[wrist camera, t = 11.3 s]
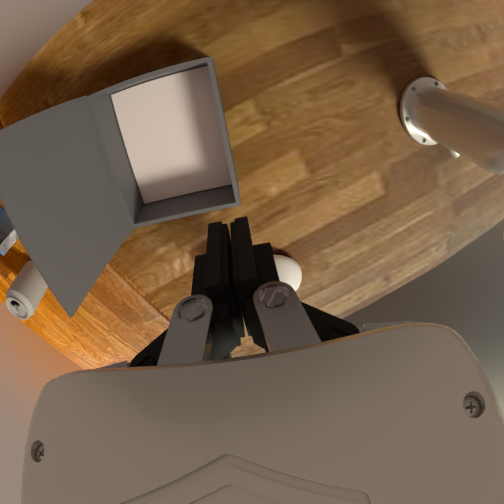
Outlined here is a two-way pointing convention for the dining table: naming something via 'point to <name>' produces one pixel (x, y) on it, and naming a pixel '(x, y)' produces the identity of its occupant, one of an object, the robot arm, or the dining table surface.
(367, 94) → the dining table surface
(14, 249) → the dining table surface
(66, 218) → the mailer lid
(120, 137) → the box
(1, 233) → the label tape box
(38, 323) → the dining table surface
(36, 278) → the can
